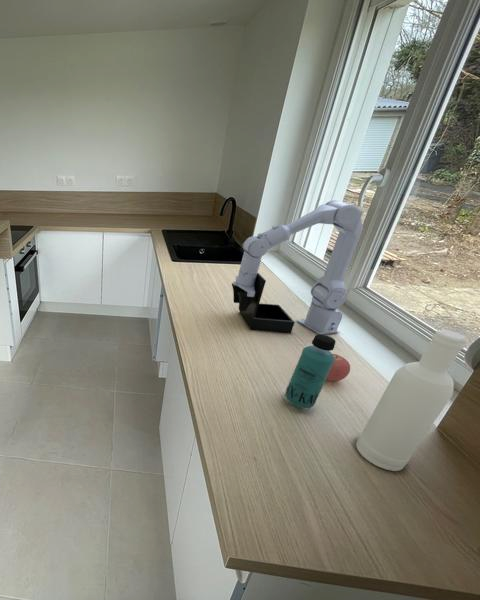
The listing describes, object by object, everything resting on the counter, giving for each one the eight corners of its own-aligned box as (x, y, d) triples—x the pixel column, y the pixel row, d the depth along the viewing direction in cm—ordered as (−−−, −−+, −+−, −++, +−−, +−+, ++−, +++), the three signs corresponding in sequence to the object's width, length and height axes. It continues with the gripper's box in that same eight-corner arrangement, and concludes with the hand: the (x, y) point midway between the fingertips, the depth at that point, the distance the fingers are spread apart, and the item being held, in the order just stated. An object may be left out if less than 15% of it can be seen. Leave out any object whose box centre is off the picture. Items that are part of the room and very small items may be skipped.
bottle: (356, 459, 67) (426, 337, 54) (353, 433, 73) (415, 318, 60) (407, 479, 63) (496, 353, 50) (399, 450, 69) (477, 331, 56)
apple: (329, 388, 86) (340, 364, 83) (305, 372, 93) (314, 349, 89) (350, 384, 88) (361, 360, 85) (325, 368, 95) (335, 345, 91)
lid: (252, 266, 117) (240, 266, 118) (266, 280, 105) (252, 279, 106) (243, 301, 123) (231, 300, 124) (255, 317, 111) (242, 316, 112)
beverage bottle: (284, 391, 85) (309, 326, 76) (314, 403, 81) (344, 336, 73) (280, 405, 81) (305, 338, 72) (311, 418, 77) (342, 349, 68)
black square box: (275, 315, 124) (278, 304, 122) (290, 333, 112) (294, 322, 110) (239, 312, 126) (241, 302, 124) (250, 330, 114) (253, 318, 112)
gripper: (230, 264, 119) (222, 297, 124) (242, 278, 106) (233, 314, 111) (250, 265, 118) (242, 298, 124) (265, 280, 105) (254, 316, 111)
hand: (239, 306), depth 117 cm, fingers open, 6 cm apart
